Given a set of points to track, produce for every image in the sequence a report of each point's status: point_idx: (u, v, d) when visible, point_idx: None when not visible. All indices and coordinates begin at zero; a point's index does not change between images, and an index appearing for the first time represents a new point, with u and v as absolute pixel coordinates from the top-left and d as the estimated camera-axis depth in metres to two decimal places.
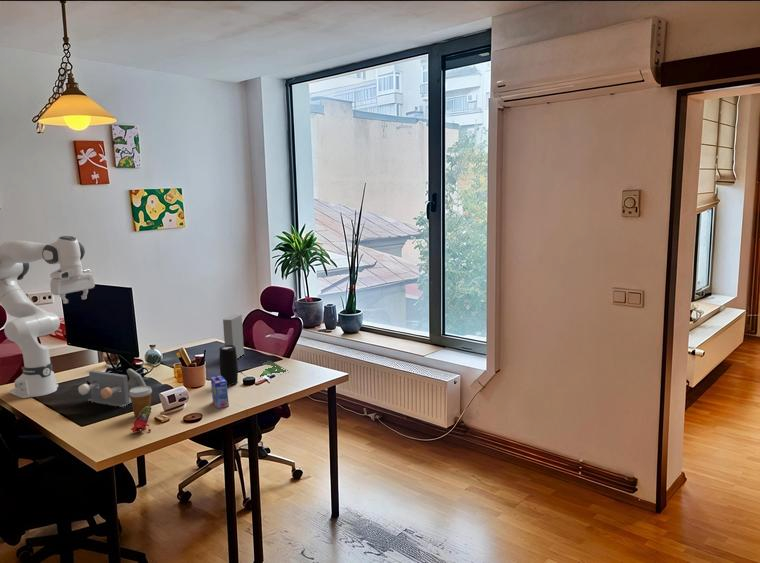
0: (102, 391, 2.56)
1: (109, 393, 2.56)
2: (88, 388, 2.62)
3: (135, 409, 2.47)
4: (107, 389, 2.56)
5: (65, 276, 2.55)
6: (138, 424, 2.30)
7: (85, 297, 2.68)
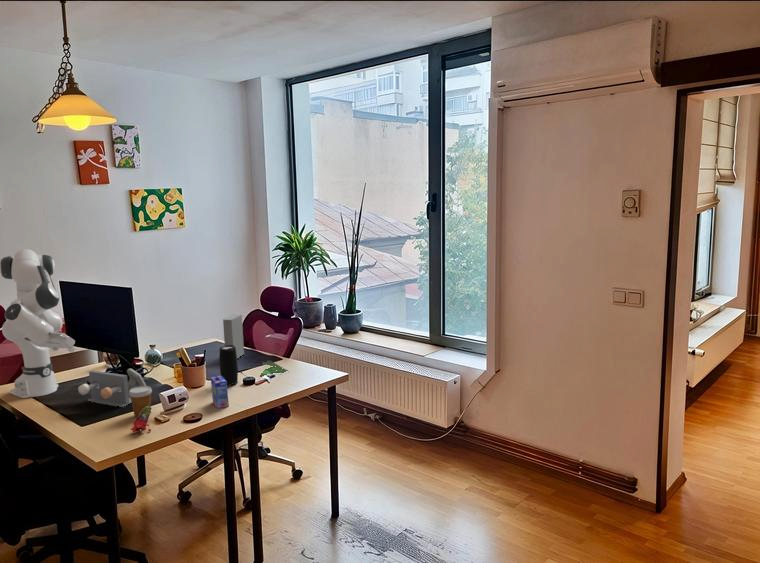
0: (102, 391, 2.56)
1: (109, 393, 2.56)
2: (88, 388, 2.62)
3: (135, 409, 2.47)
4: (107, 389, 2.56)
5: (29, 340, 2.35)
6: (138, 424, 2.30)
7: (70, 351, 2.42)
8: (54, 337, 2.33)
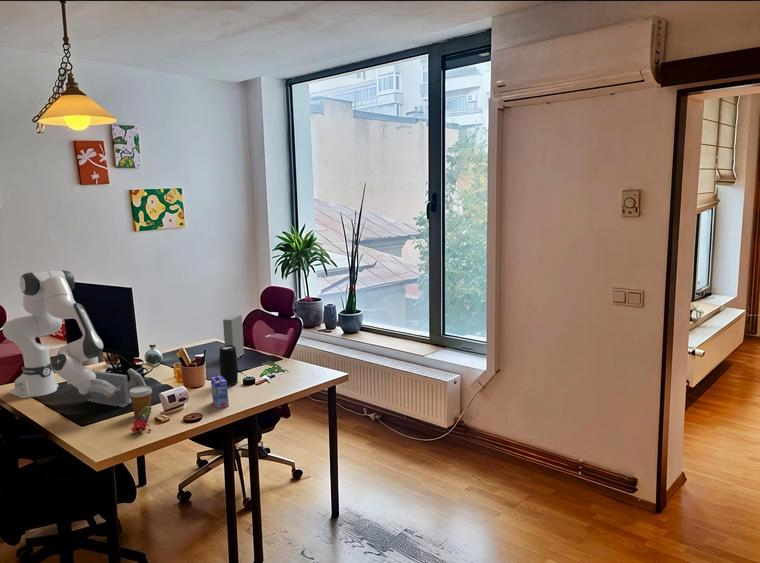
0: None
1: None
2: None
3: (135, 409, 2.47)
4: None
5: (72, 385, 2.47)
6: (138, 424, 2.30)
7: (104, 394, 2.55)
8: (96, 384, 2.44)
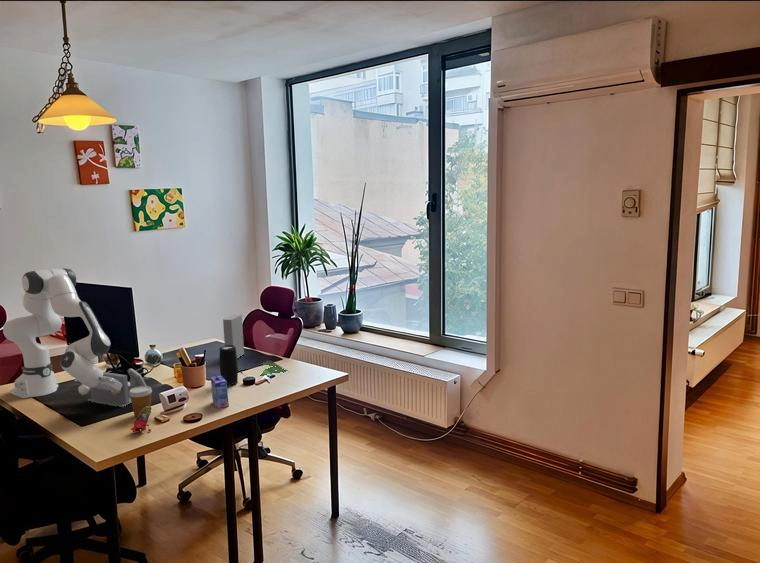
0: None
1: None
2: (88, 388, 2.62)
3: (135, 409, 2.47)
4: None
5: (80, 382, 2.51)
6: (138, 424, 2.30)
7: (111, 391, 2.58)
8: (104, 381, 2.48)
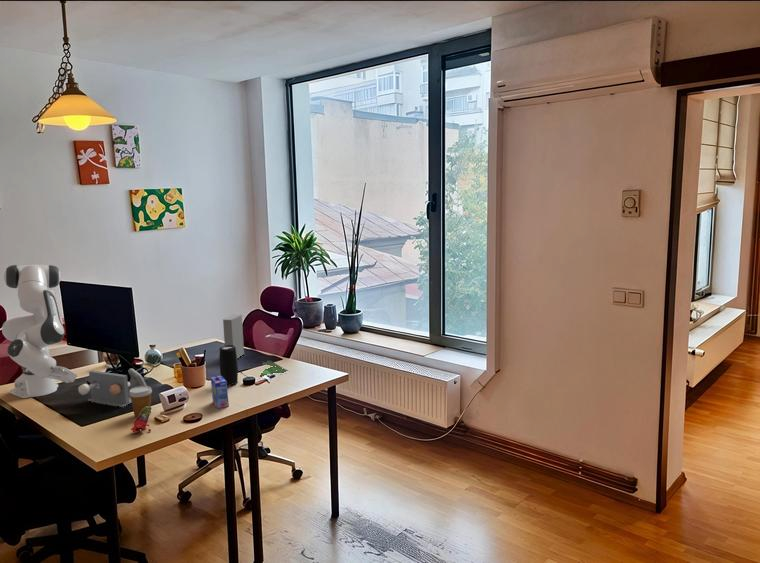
0: (111, 387, 2.61)
1: (118, 390, 2.60)
2: (88, 388, 2.62)
3: (135, 409, 2.47)
4: (116, 385, 2.60)
5: (31, 372, 2.36)
6: (138, 424, 2.30)
7: (66, 382, 2.44)
8: (56, 371, 2.33)
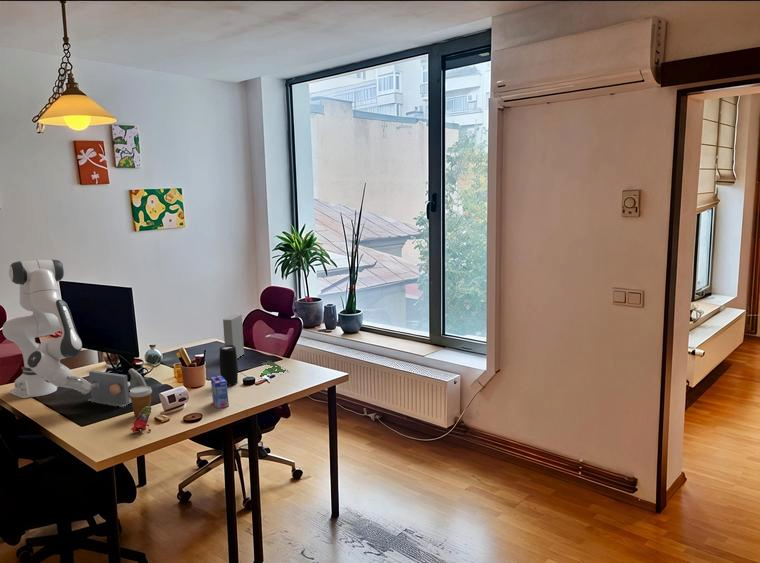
0: (111, 387, 2.61)
1: (118, 390, 2.60)
2: None
3: (135, 409, 2.47)
4: (116, 385, 2.60)
5: (49, 382, 2.52)
6: (138, 424, 2.30)
7: (80, 391, 2.60)
8: (72, 381, 2.49)
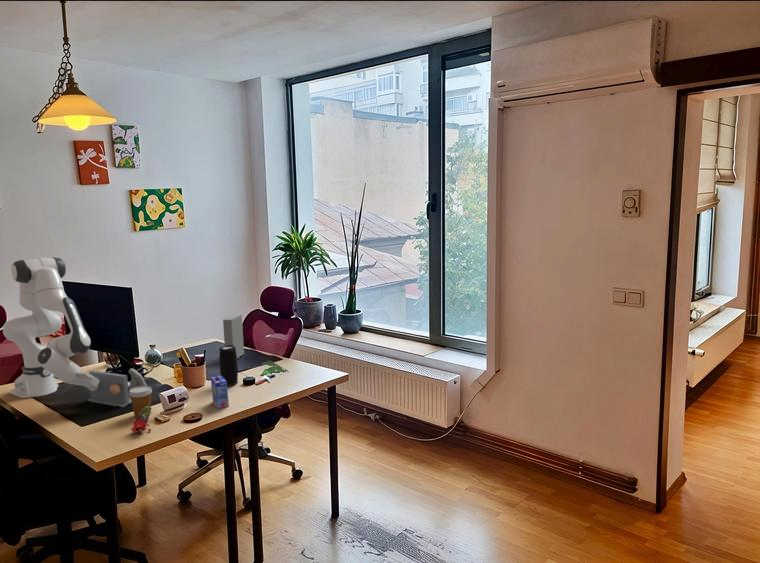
0: (111, 387, 2.61)
1: (118, 390, 2.60)
2: None
3: (135, 409, 2.47)
4: (116, 385, 2.60)
5: (58, 378, 2.56)
6: (138, 424, 2.30)
7: None
8: (81, 377, 2.53)
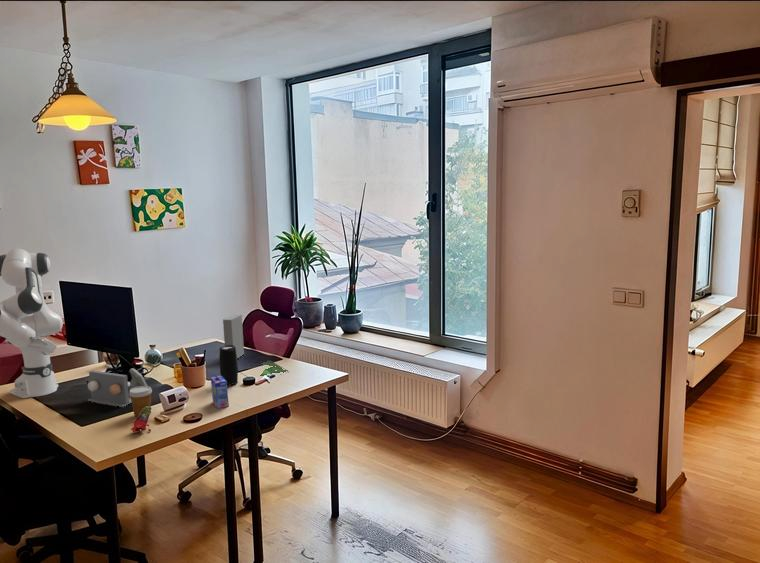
0: (111, 387, 2.61)
1: (118, 390, 2.60)
2: (97, 385, 2.66)
3: (135, 409, 2.47)
4: (116, 385, 2.60)
5: (11, 343, 2.36)
6: (138, 424, 2.30)
7: (46, 354, 2.43)
8: (35, 342, 2.33)
